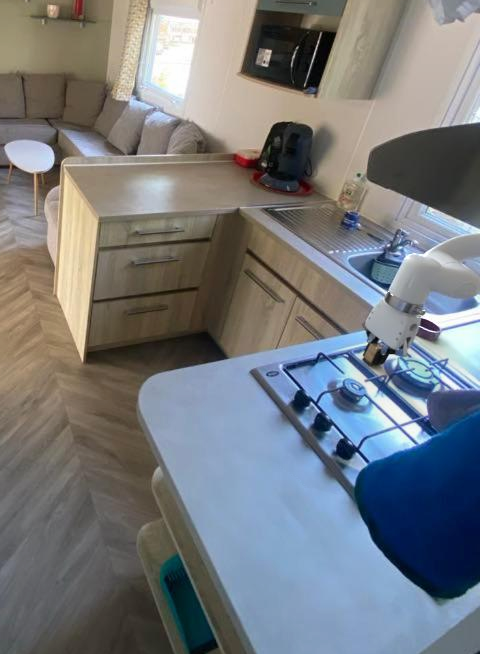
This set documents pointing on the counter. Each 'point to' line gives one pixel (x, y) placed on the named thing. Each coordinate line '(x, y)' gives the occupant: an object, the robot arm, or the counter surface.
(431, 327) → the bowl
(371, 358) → the brown wooden block
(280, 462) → the counter surface
